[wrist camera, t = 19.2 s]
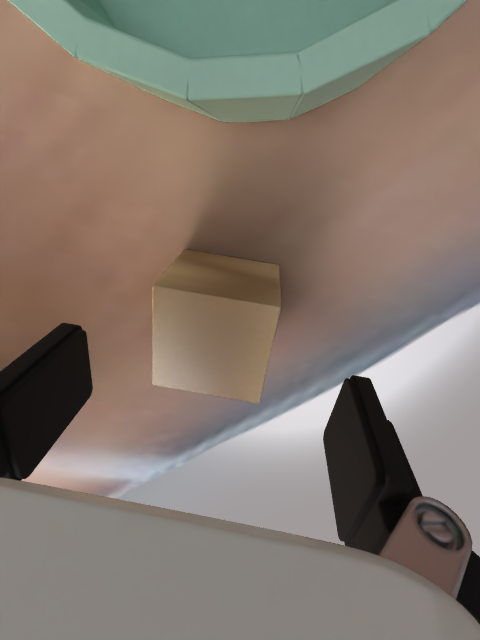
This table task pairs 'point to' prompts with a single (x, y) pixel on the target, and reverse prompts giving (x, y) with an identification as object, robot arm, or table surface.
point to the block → (214, 325)
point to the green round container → (240, 47)
